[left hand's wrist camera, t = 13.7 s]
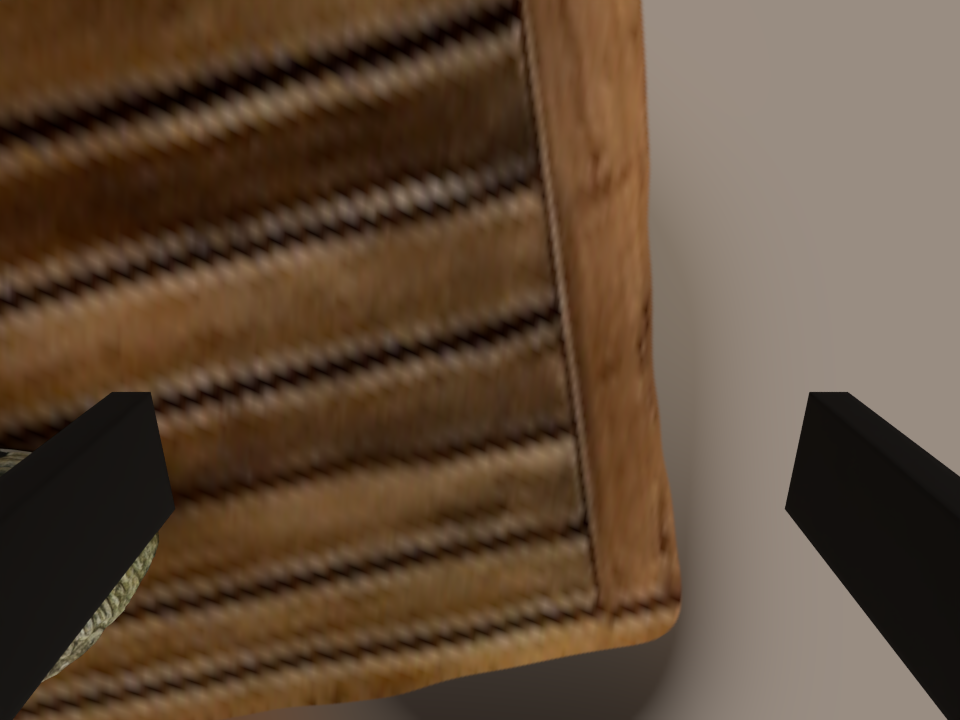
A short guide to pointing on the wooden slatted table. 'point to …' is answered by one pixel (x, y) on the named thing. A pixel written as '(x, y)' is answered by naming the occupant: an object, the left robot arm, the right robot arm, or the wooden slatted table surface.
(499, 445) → the wooden slatted table surface
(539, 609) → the wooden slatted table surface
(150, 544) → the fossil
